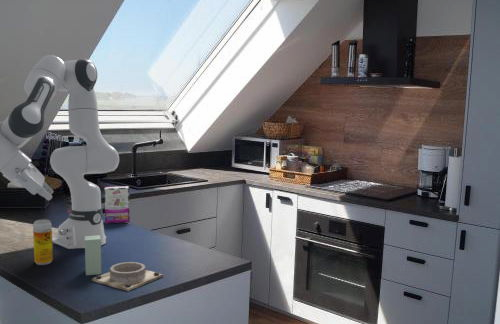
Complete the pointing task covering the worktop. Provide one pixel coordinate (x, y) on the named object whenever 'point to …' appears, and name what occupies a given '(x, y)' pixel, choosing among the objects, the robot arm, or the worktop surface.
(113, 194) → the candy bar box
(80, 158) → the robot arm
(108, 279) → the bolt socket plate
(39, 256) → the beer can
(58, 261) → the worktop surface
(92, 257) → the green peg
